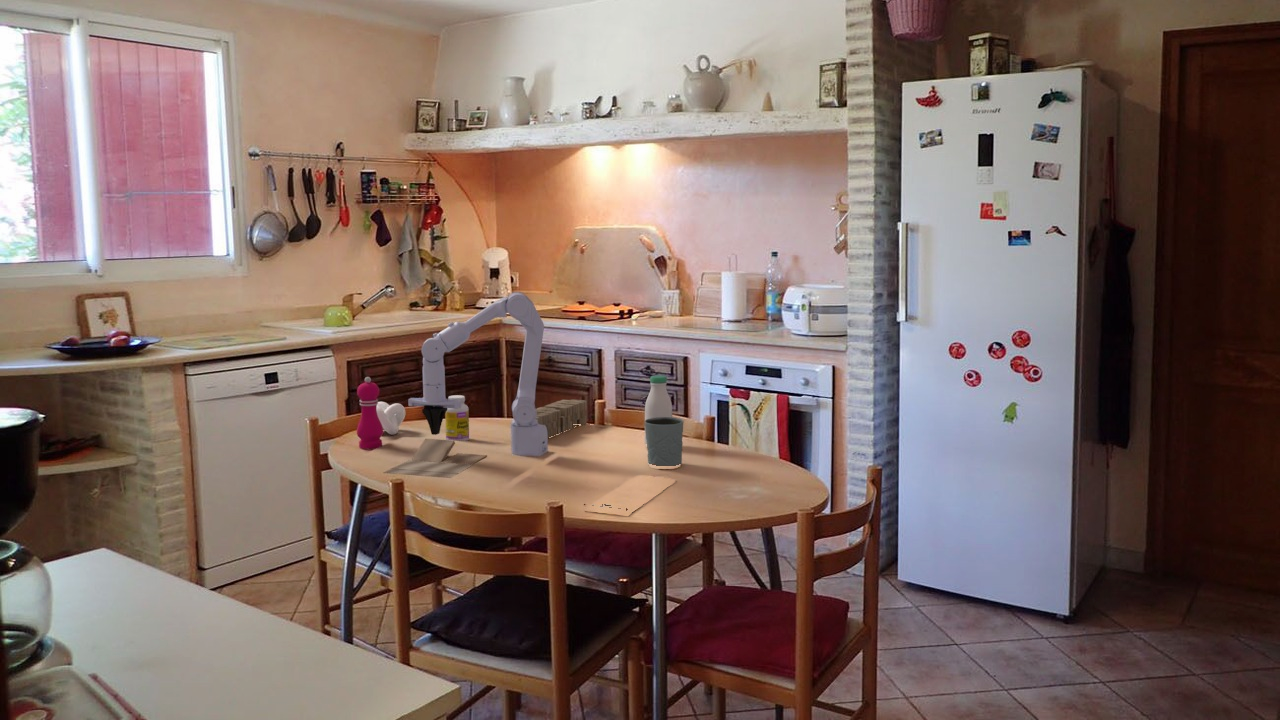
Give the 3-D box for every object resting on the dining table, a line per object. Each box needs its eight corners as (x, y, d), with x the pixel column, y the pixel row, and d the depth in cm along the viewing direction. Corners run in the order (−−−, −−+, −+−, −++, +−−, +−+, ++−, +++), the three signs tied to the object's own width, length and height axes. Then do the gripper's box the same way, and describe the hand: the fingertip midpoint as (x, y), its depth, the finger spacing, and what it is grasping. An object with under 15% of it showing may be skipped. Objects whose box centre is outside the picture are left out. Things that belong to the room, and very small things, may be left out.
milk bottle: (672, 449, 285) (672, 378, 282) (644, 449, 285) (644, 378, 282) (672, 443, 292) (672, 374, 289) (645, 443, 293) (644, 374, 290)
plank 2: (486, 458, 274) (486, 455, 274) (472, 468, 266) (471, 464, 266) (457, 456, 277) (457, 453, 277) (442, 466, 268) (442, 462, 268)
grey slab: (473, 468, 265) (473, 464, 265) (450, 481, 253) (450, 477, 253) (409, 463, 271) (408, 460, 270) (383, 476, 258) (383, 472, 258)
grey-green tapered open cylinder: (680, 471, 262) (680, 425, 260) (641, 469, 264) (640, 423, 262) (686, 461, 272) (686, 417, 270) (648, 460, 274) (648, 415, 272)
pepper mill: (387, 444, 293) (384, 374, 290) (378, 450, 286) (375, 379, 283) (362, 443, 294) (359, 374, 291) (353, 449, 287) (350, 378, 284)
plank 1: (454, 443, 276) (454, 440, 275) (441, 465, 269) (440, 462, 268) (426, 441, 278) (425, 438, 278) (412, 462, 271) (411, 460, 271)
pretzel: (355, 436, 304) (354, 406, 302) (377, 427, 315) (376, 398, 314) (389, 438, 300) (388, 408, 299) (410, 429, 312) (409, 400, 310)
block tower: (565, 425, 322) (514, 441, 296) (565, 398, 321) (514, 412, 295) (587, 427, 319) (538, 444, 293) (587, 400, 318) (537, 415, 292)
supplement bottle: (457, 444, 293) (455, 399, 291) (441, 440, 297) (439, 397, 295) (474, 439, 298) (473, 396, 296) (458, 436, 302) (457, 393, 300)
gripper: (465, 382, 274) (467, 432, 276) (416, 379, 278) (418, 429, 280) (453, 386, 267) (455, 438, 269) (403, 384, 271) (405, 434, 273)
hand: (435, 433), depth 274 cm, fingers closed
